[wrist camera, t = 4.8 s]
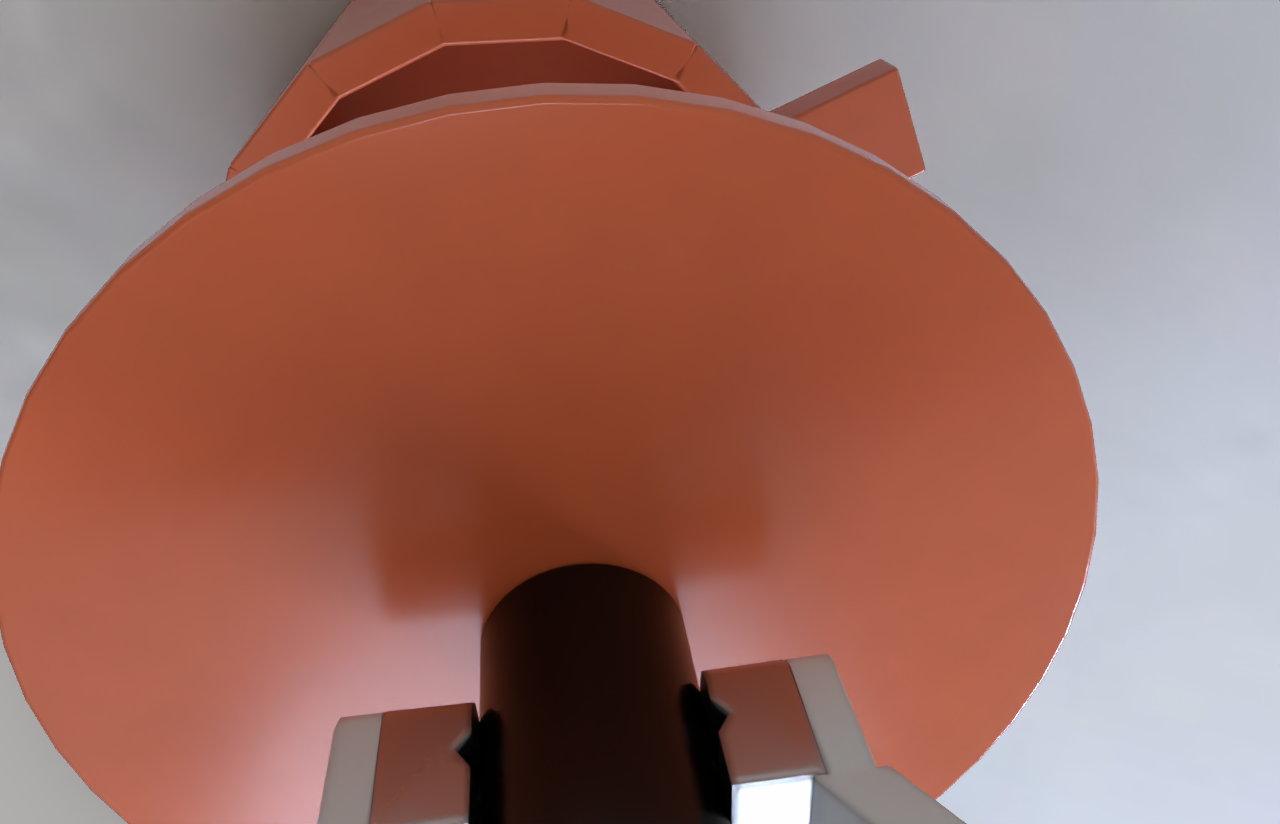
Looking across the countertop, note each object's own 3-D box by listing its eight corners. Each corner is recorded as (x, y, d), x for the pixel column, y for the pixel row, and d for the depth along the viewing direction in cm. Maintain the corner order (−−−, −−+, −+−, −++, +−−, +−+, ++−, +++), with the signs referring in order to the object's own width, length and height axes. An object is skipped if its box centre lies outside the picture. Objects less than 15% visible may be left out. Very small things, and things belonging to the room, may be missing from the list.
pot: (90, 132, 25) (-55, 247, 18) (731, -198, 23) (835, -208, 16) (359, 483, 32) (327, 663, 25) (874, 246, 30) (991, 371, 23)
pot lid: (-253, 404, 11) (-816, 848, 6) (914, -184, 9) (1336, -185, 5) (403, 969, 18) (371, 1368, 13) (1120, 691, 16) (1365, 1034, 12)
